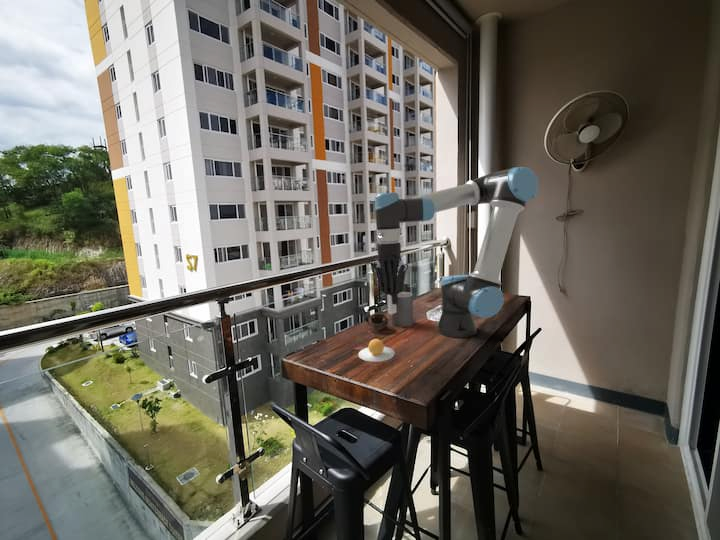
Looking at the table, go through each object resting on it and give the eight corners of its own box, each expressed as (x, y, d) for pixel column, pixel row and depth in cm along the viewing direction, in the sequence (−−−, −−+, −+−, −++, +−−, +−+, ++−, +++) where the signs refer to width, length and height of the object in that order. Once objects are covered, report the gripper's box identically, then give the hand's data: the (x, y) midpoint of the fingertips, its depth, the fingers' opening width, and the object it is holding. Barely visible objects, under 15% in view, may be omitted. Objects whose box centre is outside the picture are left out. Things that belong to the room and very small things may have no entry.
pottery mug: (392, 327, 145) (392, 314, 140) (382, 342, 139) (381, 330, 134) (369, 317, 150) (368, 305, 145) (358, 332, 145) (356, 319, 139)
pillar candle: (387, 324, 148) (386, 292, 145) (401, 318, 154) (400, 287, 151) (404, 329, 140) (402, 295, 138) (418, 323, 147) (417, 290, 144)
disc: (374, 344, 126) (374, 343, 126) (402, 351, 117) (402, 351, 117) (350, 355, 116) (350, 355, 116) (379, 365, 108) (379, 364, 107)
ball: (387, 353, 117) (374, 349, 120) (386, 338, 116) (374, 335, 119) (378, 358, 113) (365, 355, 116) (377, 343, 112) (364, 340, 115)
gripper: (365, 243, 106) (370, 313, 110) (398, 243, 98) (401, 319, 101) (380, 241, 112) (384, 307, 116) (412, 241, 103) (415, 313, 107)
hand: (392, 313), depth 109 cm, fingers closed
